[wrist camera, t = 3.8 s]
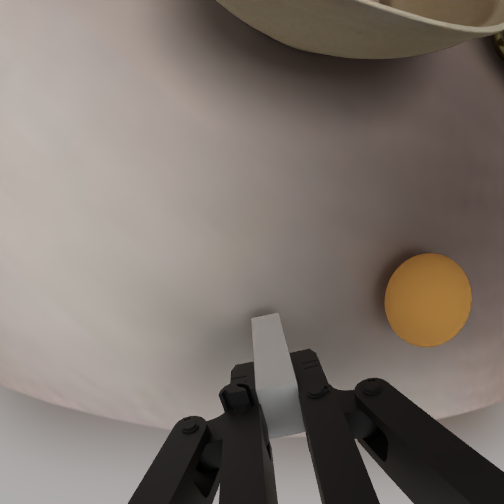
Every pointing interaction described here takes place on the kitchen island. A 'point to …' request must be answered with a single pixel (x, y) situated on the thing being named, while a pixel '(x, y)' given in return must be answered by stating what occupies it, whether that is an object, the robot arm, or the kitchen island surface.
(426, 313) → the ball
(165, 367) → the kitchen island surface
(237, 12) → the planter bowl
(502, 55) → the green lump
